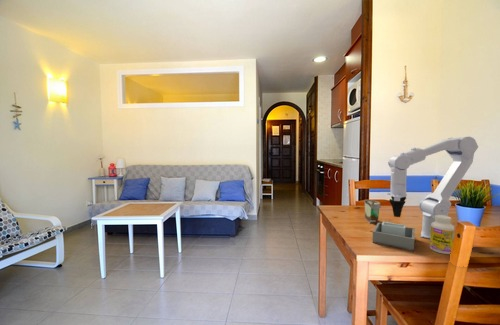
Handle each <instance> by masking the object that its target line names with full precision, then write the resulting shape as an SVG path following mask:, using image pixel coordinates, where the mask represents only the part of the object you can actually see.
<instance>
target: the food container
mask: <svg viewBox="0 0 500 325" xmlns="http://www.w3.org/2000/svg"><path fill="white" fill-rule="evenodd" d="M363 203H364V219H365V220H366V221H367V222H368V223H369V224H372V225H373V224H377V223H379V216H380V209H381V208H382V206H381V202H379V201H376V200H371V199H364V202H363Z"/></svg>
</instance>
